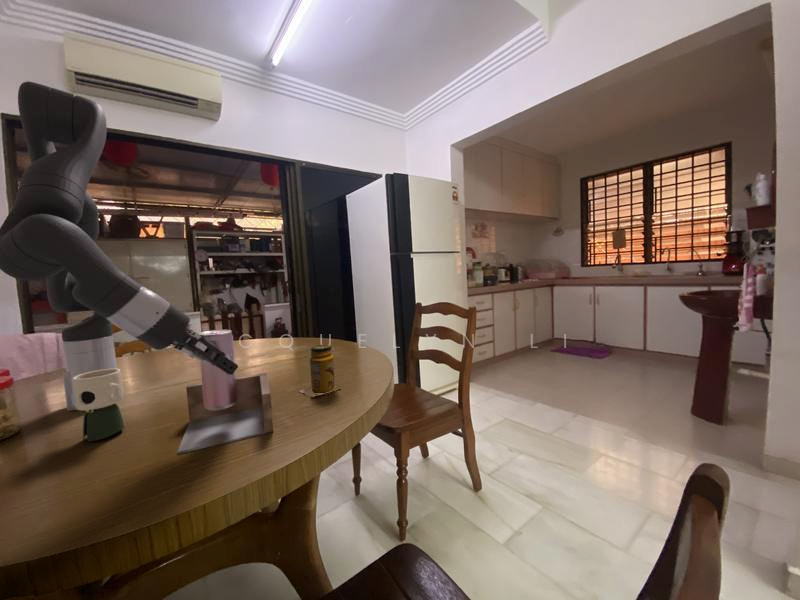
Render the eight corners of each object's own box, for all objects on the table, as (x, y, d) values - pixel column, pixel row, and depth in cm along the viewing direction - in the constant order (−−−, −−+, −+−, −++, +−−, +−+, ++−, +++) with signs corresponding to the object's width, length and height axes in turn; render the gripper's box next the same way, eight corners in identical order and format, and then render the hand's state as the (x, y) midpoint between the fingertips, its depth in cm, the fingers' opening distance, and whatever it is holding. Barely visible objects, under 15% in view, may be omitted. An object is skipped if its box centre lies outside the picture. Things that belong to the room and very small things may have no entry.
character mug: (64, 441, 63) (56, 377, 62) (106, 424, 70) (99, 366, 69) (102, 448, 60) (93, 381, 59) (142, 430, 67) (135, 369, 66)
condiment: (341, 389, 86) (338, 345, 85) (312, 399, 80) (309, 352, 79) (326, 383, 91) (324, 342, 90) (299, 392, 85) (296, 348, 84)
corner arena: (177, 454, 57) (172, 411, 56) (190, 420, 71) (187, 385, 70) (273, 431, 64) (270, 393, 63) (268, 405, 77) (266, 372, 77)
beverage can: (213, 400, 67) (207, 330, 66) (242, 398, 68) (237, 328, 67) (198, 412, 62) (191, 335, 60) (230, 410, 62) (224, 334, 61)
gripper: (180, 302, 53) (256, 357, 63) (155, 300, 62) (225, 348, 72) (143, 340, 49) (230, 391, 59) (122, 332, 58) (201, 378, 68)
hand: (227, 367), depth 66 cm, fingers closed on beverage can, 5 cm apart
